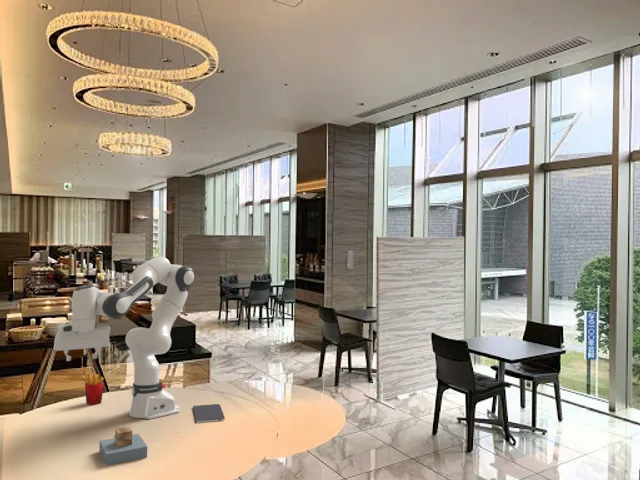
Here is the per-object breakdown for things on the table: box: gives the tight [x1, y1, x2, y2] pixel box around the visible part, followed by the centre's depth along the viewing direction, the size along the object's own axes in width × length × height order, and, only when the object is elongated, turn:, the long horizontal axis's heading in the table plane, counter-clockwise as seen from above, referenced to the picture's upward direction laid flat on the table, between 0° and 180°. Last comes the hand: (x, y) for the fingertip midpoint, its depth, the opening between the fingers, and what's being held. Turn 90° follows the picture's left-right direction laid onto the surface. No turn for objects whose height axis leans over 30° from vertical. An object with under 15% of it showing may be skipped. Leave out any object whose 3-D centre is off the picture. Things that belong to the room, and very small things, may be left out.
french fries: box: [81, 372, 105, 406], centre depth 235 cm, size 9×8×15 cm
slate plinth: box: [98, 433, 148, 467], centre depth 179 cm, size 14×14×4 cm
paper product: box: [192, 403, 226, 424], centre depth 225 cm, size 13×2×21 cm
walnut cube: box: [114, 426, 133, 447], centre depth 179 cm, size 5×5×5 cm
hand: (81, 359), depth 195 cm, fingers open, 8 cm apart
